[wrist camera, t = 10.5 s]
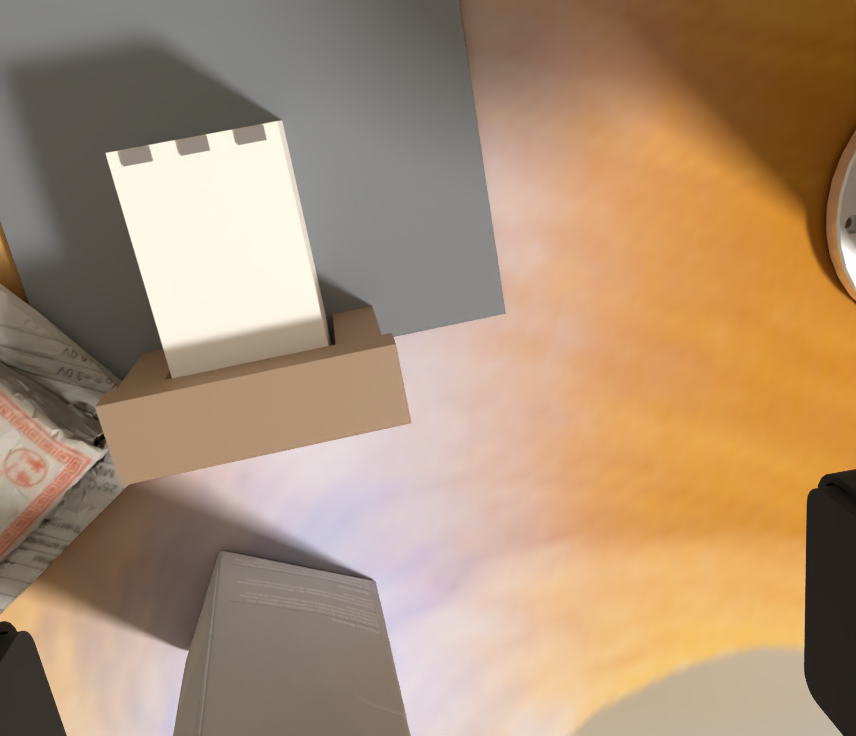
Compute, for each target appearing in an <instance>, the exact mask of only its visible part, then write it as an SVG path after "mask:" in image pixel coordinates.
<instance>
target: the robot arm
mask: <svg viewBox="0 0 856 736" xmlns="http://www.w3.org/2000/svg"><path fill="white" fill-rule="evenodd" d="M826 234H827V241H828V247H829V253H830V257H831V260H832V263H833V265H834V268H835V271H836V273H837V276H838V278H839V279H840V281H841V283H842V284H843V286H844V287H845V289H846V290H847V292H848V293H849V295H850V296H851V297H852V298H853V299H854V300H855V301H856V130H855V132H854V134H853V135H852V137H851V139H850V141H849V142H848V144H847V146H846V148H845V149H844V151H843V153H842V155H841V158H840V160H839V163H838V166H837V168H836V171H835V174H834V176H833V179H832V183H831V188H830V193H829V198H828V203H827V217H826ZM804 672H805V678H806V682H807V685H808V688H809V690H810V693H811V695H812V697H813V698H814V700H815V701H816V703H817V704H818V705H819V706H820V708H821V709H822V710H823V711H824V713H825V714H826V715H827V716H828V717H829V719H830V720H831V721H832V722H833V723H834V725H835V726H836V727H837V728H838V730H839V731H840V732H841V733H842V735H843V736H856V469H854V470H849V471H843V472H837V473H832V474H826V475H825V476H823V477H822V478H821V480H820V482H819V484H818V488H816V489H813V490H811V491H810V492H809V495H808V498H807V527H806V587H805V648H804ZM0 736H67V735H66V733H65V730H64V727H63V724H62V721H61V718H60V715H59V712H58V709H57V706H56V703H55V701H54V698H53V695H52V692H51V689H50V686H49V683H48V680H47V677H46V674H45V672H44V669H43V666H42V663H41V660H40V657H39V654H38V651H37V648H36V645H35V643H34V640H33V638H32V636H31V635H30V634H29V633H28V632H26V631H20V632H17V631H16V628H15V627H14V626H13V625H12V624H11V623H9V622H6V621H3V622H0Z"/></svg>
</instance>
